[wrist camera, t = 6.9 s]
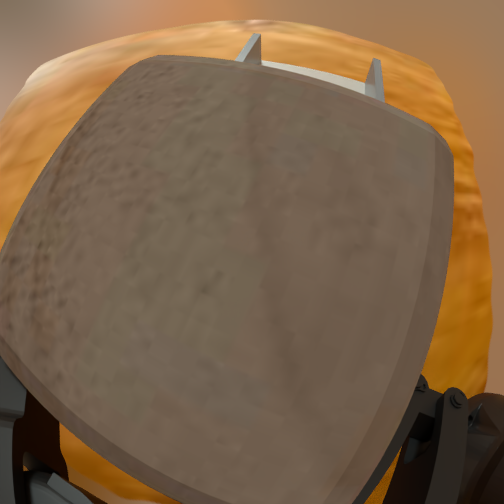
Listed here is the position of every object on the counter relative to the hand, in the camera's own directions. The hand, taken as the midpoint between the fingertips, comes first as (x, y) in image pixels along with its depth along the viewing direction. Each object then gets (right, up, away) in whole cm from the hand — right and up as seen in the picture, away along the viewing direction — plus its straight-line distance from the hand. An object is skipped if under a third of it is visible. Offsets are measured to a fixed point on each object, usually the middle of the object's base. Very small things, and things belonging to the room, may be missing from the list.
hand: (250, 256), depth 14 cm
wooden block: (0, -5, +9) cm, 11 cm away
